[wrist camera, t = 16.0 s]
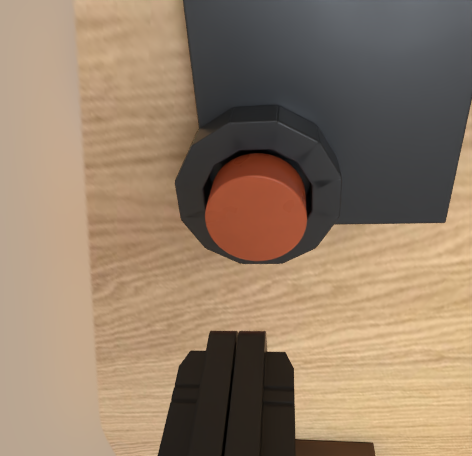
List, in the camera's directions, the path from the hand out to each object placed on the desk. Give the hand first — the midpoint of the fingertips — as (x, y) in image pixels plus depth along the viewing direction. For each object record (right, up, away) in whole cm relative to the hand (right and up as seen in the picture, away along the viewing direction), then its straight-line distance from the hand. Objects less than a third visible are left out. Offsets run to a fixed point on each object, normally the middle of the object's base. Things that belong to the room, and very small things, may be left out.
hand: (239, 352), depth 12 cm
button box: (+4, +9, +8) cm, 13 cm away
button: (+1, +5, +7) cm, 9 cm away
